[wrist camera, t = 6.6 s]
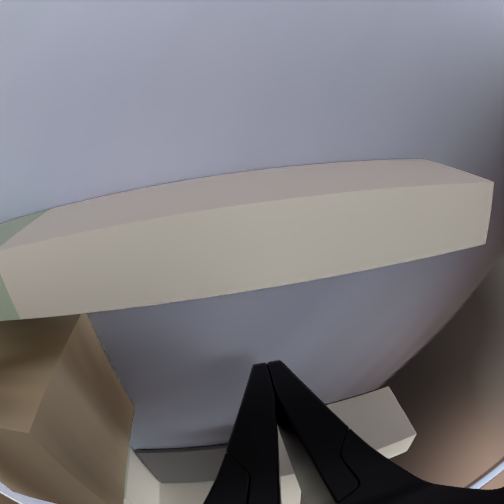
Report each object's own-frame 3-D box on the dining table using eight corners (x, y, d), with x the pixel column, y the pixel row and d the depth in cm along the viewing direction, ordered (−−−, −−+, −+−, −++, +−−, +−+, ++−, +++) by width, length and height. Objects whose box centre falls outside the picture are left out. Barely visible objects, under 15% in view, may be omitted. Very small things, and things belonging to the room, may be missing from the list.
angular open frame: (423, 158, 8) (493, 182, 5) (363, 457, 16) (378, 493, 13) (-68, 246, 7) (-113, 283, 4) (97, 486, 14) (93, 522, 11)
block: (85, 305, 9) (29, 433, 4) (134, 405, 11) (122, 514, 6) (-14, 315, 8) (-75, 405, 4) (41, 404, 10) (12, 491, 6)
